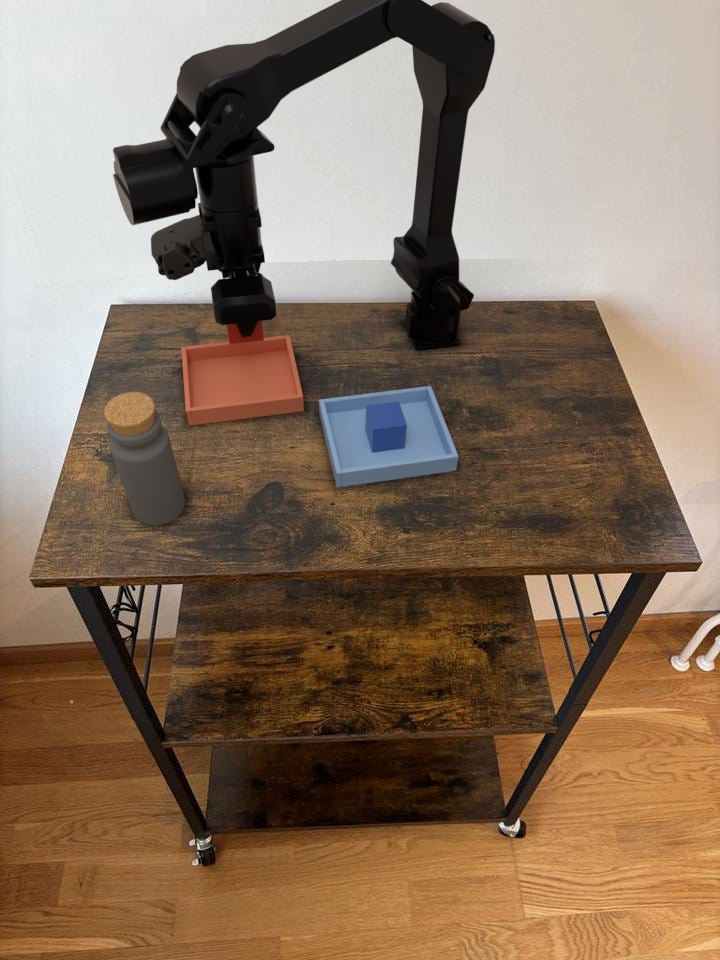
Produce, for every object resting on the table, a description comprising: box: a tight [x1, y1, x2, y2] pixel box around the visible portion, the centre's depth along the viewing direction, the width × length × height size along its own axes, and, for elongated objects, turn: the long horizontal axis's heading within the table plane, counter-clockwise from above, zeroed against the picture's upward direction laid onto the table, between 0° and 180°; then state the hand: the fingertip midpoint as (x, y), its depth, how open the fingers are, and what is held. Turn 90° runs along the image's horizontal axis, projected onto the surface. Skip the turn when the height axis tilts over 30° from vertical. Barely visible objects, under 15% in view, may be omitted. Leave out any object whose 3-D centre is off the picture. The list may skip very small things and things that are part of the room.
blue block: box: [365, 402, 407, 453], centre depth 87 cm, size 4×4×4 cm
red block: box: [226, 321, 265, 344], centre depth 85 cm, size 4×4×4 cm
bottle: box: [103, 391, 186, 527], centre depth 76 cm, size 6×6×15 cm
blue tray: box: [318, 385, 459, 488], centre depth 87 cm, size 14×12×2 cm
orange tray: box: [181, 334, 305, 427], centre depth 93 cm, size 14×12×2 cm
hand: (244, 324), depth 85 cm, fingers closed on red block, 4 cm apart
